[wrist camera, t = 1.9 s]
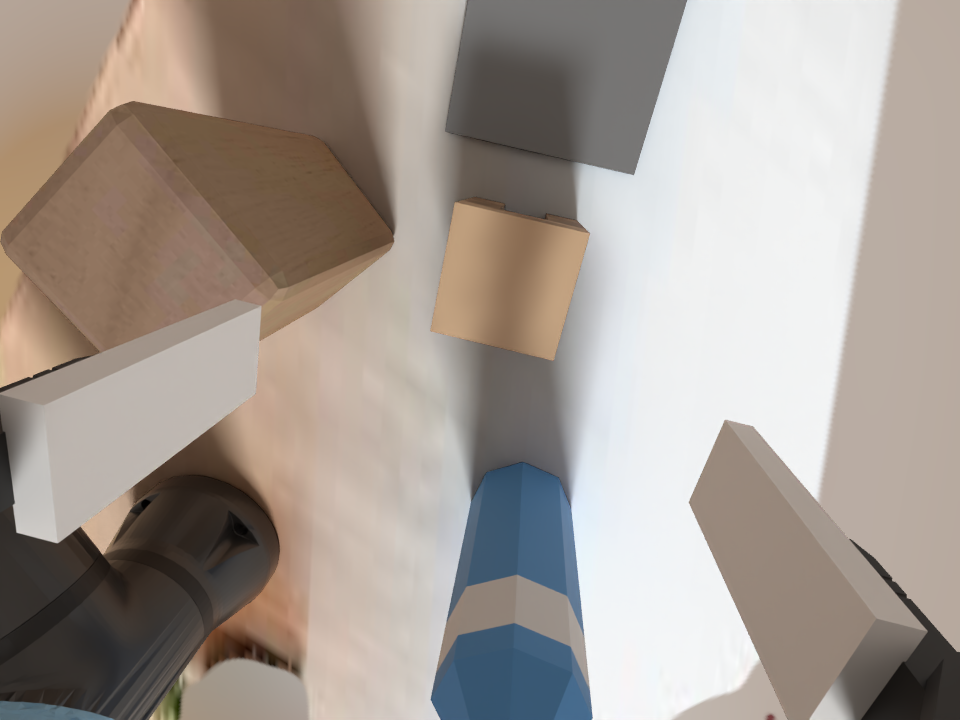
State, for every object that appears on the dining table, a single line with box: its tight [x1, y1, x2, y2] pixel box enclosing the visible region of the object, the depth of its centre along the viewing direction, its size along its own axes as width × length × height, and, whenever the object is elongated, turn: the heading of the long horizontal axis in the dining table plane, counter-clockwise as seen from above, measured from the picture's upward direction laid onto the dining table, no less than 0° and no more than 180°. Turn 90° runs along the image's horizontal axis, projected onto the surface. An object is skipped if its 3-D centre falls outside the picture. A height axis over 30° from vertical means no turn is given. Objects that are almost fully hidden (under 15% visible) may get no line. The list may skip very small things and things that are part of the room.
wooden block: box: [0, 101, 394, 353], centre depth 31 cm, size 10×10×20 cm
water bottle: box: [431, 462, 593, 720], centre depth 36 cm, size 9×9×25 cm
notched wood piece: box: [430, 197, 590, 361], centre depth 35 cm, size 8×8×10 cm
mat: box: [445, 0, 687, 175], centre depth 35 cm, size 14×14×1 cm
